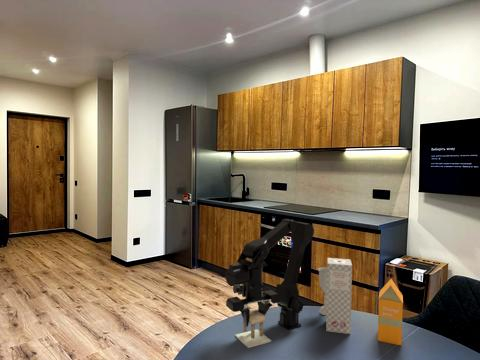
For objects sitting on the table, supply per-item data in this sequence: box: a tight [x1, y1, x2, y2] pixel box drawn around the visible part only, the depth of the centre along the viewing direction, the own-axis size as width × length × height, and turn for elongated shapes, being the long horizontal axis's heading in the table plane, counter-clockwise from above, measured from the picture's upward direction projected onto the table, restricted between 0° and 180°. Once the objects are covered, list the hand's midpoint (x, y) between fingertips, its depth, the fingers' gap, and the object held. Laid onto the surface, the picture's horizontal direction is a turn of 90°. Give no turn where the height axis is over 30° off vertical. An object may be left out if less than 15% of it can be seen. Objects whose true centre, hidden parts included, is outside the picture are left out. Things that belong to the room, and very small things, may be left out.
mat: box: [234, 328, 272, 349], centre depth 117 cm, size 9×9×1 cm
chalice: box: [317, 266, 327, 316], centre depth 139 cm, size 7×7×18 cm
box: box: [325, 257, 353, 335], centre depth 126 cm, size 8×8×25 cm
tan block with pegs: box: [242, 308, 266, 339], centre depth 117 cm, size 7×5×7 cm
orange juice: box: [377, 278, 404, 346], centre depth 120 cm, size 8×9×20 cm
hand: (253, 324), depth 117 cm, fingers closed on tan block with pegs, 5 cm apart
